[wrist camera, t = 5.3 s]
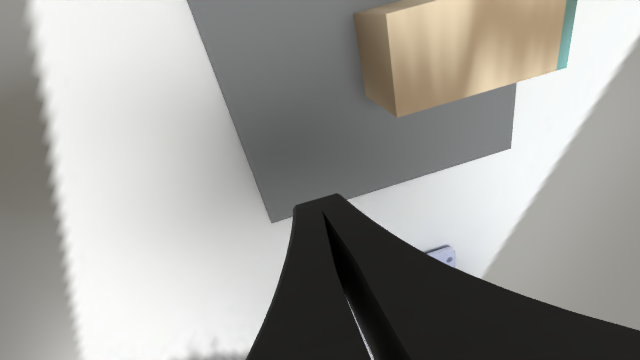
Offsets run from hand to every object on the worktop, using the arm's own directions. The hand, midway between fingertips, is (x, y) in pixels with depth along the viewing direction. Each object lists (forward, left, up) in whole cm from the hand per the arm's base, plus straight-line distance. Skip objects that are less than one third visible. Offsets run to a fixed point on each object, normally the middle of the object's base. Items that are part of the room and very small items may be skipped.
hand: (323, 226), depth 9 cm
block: (+3, -4, -7) cm, 9 cm away
